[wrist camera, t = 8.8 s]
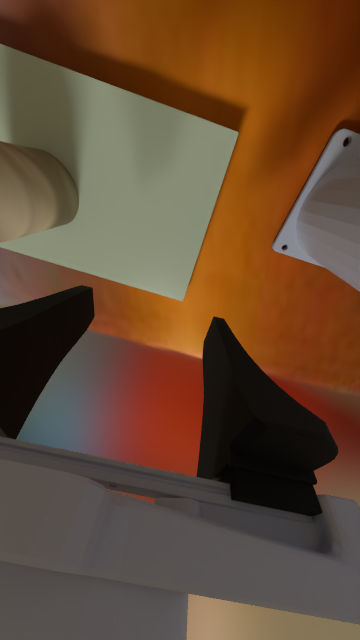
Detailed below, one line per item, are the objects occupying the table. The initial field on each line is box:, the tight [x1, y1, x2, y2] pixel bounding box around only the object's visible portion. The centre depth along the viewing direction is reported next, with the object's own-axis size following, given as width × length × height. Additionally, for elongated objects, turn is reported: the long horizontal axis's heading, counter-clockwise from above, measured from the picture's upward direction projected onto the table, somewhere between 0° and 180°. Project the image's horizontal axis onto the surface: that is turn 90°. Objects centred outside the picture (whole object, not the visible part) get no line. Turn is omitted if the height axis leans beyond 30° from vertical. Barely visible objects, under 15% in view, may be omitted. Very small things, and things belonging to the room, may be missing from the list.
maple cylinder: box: [0, 141, 79, 242], centre depth 13 cm, size 5×5×6 cm
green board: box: [0, 44, 239, 301], centre depth 16 cm, size 22×13×2 cm, turn 74°
